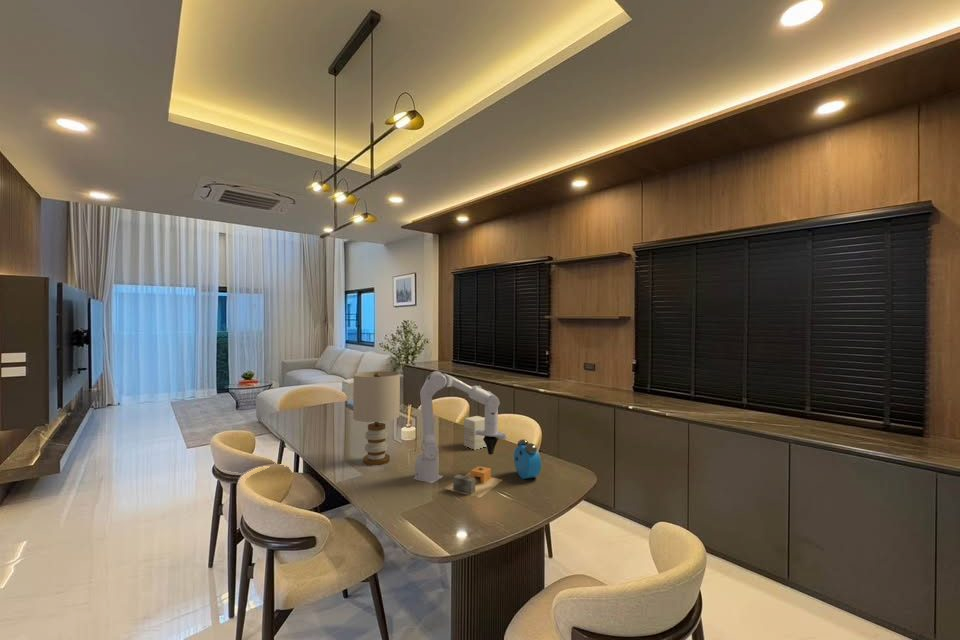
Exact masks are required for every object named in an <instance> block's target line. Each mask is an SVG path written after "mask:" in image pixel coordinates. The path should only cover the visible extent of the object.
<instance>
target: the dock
mask: <svg viewBox="0 0 960 640" xmlns="http://www.w3.org/2000/svg"><path fill="white" fill-rule="evenodd" d="M502 481H503V479H500V478H496V477H492V476H491V479H489V480H488V481H487V482H485V483H481V477H480V478H478V479H477V480H475V478H471V471H470V472H468V473H466V474H465V475H461V474H456V475H454V476H453V481H452V483H450V484H449V485H447V486H445V487H443V489H445V490H449V491H451V492H456V493H460V494H464V495H467V496H472V497H476V498H479V499H480V498H481V497H483V496H484V495H486V494H487V493H488V492H490V491H491V490H492V489H493V488H494V487H495V488H496V486H497V485H498V484H500V483H501V482H502Z"/></svg>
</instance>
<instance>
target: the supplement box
mask: <svg viewBox="0 0 960 640" xmlns="http://www.w3.org/2000/svg"><path fill="white" fill-rule="evenodd" d="M463 421H464V424H463V425H464V431H463V433H464V436H463V438H464V439H463V441H464V443H463V446H467V447H469V448H471V449H470V450H472V449H474V450H473V451H477V450H476V449H478V450H481V449H480V448H482V449H484V448H483V447H486V448H487V446H486V444H485V442H484V440H483V438H484V437H485V436H482V435H475V431H476V430H485V417H483V416H479V415H475V416H469V417H465V418H464V420H463ZM467 447H466V448H467ZM469 448H468V449H469Z"/></svg>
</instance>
